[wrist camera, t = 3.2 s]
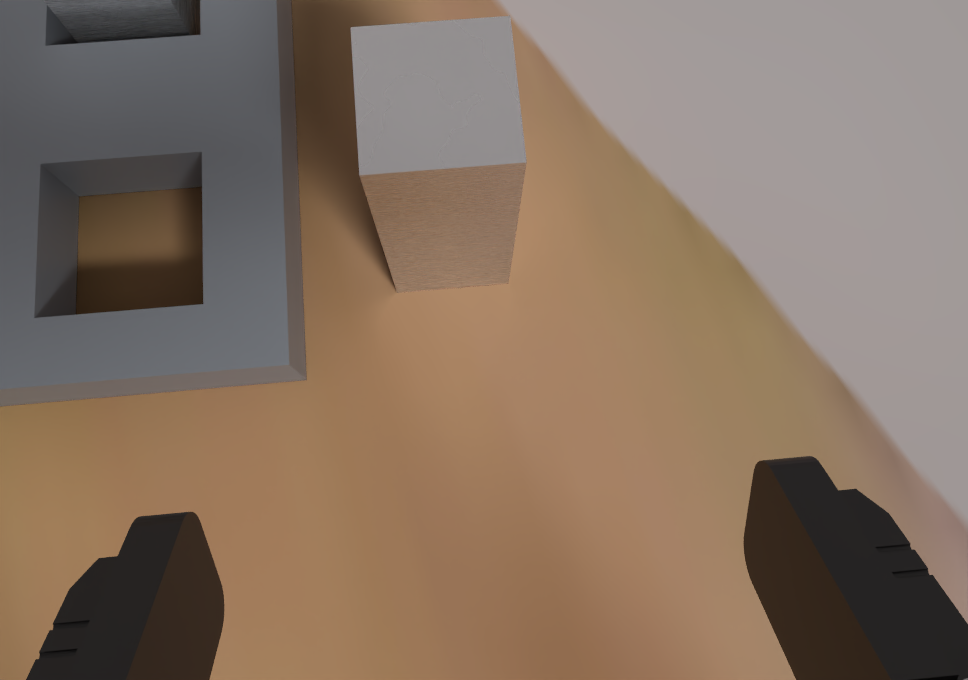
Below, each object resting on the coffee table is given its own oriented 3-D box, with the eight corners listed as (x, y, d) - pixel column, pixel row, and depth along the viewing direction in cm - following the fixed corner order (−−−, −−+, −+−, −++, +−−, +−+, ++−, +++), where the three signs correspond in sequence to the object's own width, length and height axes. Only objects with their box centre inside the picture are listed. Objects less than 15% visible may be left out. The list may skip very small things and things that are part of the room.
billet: (508, 283, 32) (526, 162, 21) (397, 292, 32) (359, 175, 21) (497, 180, 33) (510, 15, 22) (390, 189, 33) (350, 27, 22)
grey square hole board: (306, 379, 31) (289, 364, 28) (-6, 406, 31) (-56, 394, 28) (287, -96, 36) (271, -150, 33) (19, -78, 36) (-22, -132, 33)
